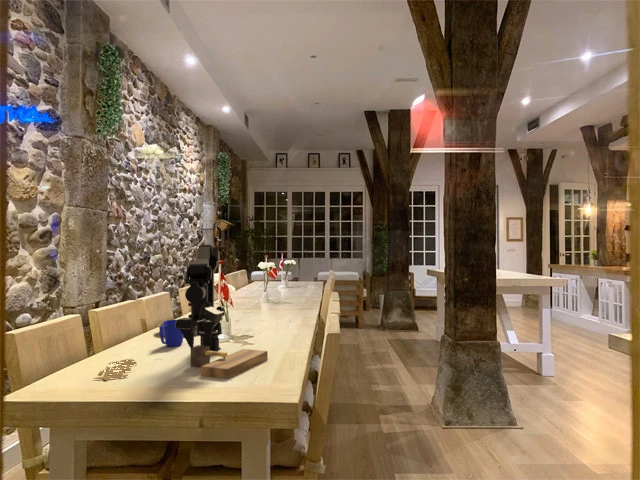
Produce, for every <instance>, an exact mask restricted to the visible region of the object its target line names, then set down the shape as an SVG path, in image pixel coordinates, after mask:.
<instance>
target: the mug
mask: <svg viewBox="0 0 640 480" xmlns="http://www.w3.org/2000/svg"><path fill="white" fill-rule="evenodd" d="M176 321H177V319H168V320H165V321H163V322H162V323H163V324H164V325H163V326H160V327H158V328H159V329H158V330H159V337H160V341H161V343H162V344H163V345H166V346H168V347H178V346H181V345H182V344H183V343H184V336H183V334H182V332H181V331H180V330H178V328H176V327H175V322H176ZM163 327H164V335H163Z"/></svg>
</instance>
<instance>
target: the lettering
mask: <svg viewBox="0 0 640 480" xmlns="http://www.w3.org/2000/svg"><path fill="white" fill-rule="evenodd" d="M126 360H128V361H126ZM115 361H116V362H115ZM115 361H112V362H111V361H110V362H109V363H108V364H109V365H110V364H111V363H112V364H113V363H116V364H121V365H118V366H117V367H118V368H120V369H118V368H117V367H113V368H114V369H112V368H111V370H110V368H105V370H106V372H105V373H104V374H103V372H104V370H103V369H102V370H103V371H101V370H100V371H99V372H98V375H99V374H103V376H98V377H94V378H93V380H94V379H104V380H109V379H110V378H121V377H126V376H128V377H129V374H128V373H125V374H124V375H123V373H124V372H125V371H131V370H132V367H131V366H130V365H134V364H137V361H135V359H134V358H133V359H131V358H129V359H128V358H126V359H121V360H119V361H117V360H115ZM132 361H134V362H132ZM117 362H124V363H117ZM122 365H127V366H126V367H125V366H122ZM137 365H138V364H137ZM129 367H130V368H129ZM115 368H117V369H115ZM124 368H126V369H124ZM130 369H131V370H130ZM109 370H110V371H109ZM113 370H122V371H119V373H118V372H113ZM117 373H118V374H117ZM109 374H112V375H111V376H109ZM108 376H109V377H108ZM104 380H103V381H104ZM110 380H111V379H110ZM110 380H109V381H110Z"/></svg>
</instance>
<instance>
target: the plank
mask: <svg viewBox="0 0 640 480" xmlns="http://www.w3.org/2000/svg"><path fill="white" fill-rule="evenodd" d="M268 357H269V355H268V350H260V349H249V348H248V349H247V348H242V349H240V350H238V351H235V352H232V353H230V354H227V356H226V357H225V359H223V357H220V358H218V359H215V360H213V361H210V363H208V364H205V365H203V366H201V368H200V373H201V374H200V376H202V377H210V378H218V379H226V380H229V379H231V378H233V377H234V376H236V375H238V374H241V373H243V372H245V371H247V370H249V369H251V368H253V367H255V366H257V365H258V364H261V363H263V362H265V361H267V360H268Z"/></svg>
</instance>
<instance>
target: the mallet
mask: <svg viewBox="0 0 640 480" xmlns="http://www.w3.org/2000/svg"><path fill="white" fill-rule="evenodd" d="M226 356H228V352H227V351H226V352H225V351H218V350H216V351H210V346H202V345H201V344H197V345H193V348H190V367H193V368H200V369H201V366H203V365H205V364H208V363H210V362H211V357H220V358H223V359H225V357H226Z"/></svg>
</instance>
